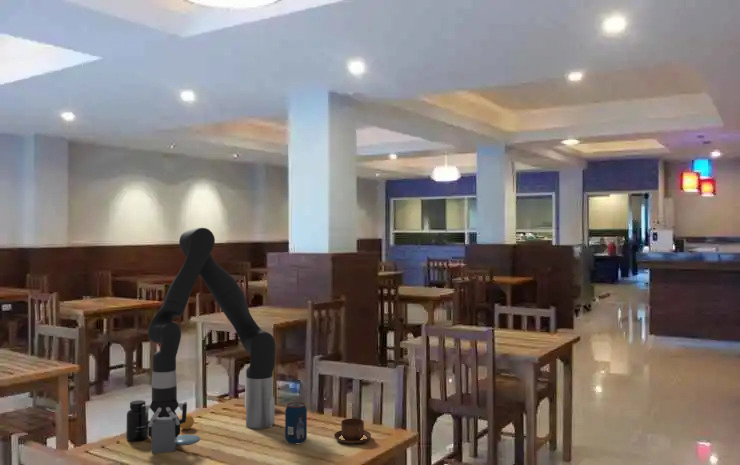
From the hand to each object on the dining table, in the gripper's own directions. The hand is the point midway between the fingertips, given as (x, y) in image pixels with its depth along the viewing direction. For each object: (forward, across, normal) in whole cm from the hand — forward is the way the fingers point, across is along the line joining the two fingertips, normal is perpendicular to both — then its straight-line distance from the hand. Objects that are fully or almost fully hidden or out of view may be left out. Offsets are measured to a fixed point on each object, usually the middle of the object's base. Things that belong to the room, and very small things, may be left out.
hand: (164, 436), depth 204 cm
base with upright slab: (+4, -30, -41) cm, 51 cm away
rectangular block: (+3, 0, 0) cm, 3 cm away
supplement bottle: (+4, +10, -11) cm, 15 cm away
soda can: (+4, -41, +2) cm, 41 cm away
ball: (+1, -6, -18) cm, 19 cm away
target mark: (+3, -6, -6) cm, 9 cm away
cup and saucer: (+4, -60, +5) cm, 60 cm away
